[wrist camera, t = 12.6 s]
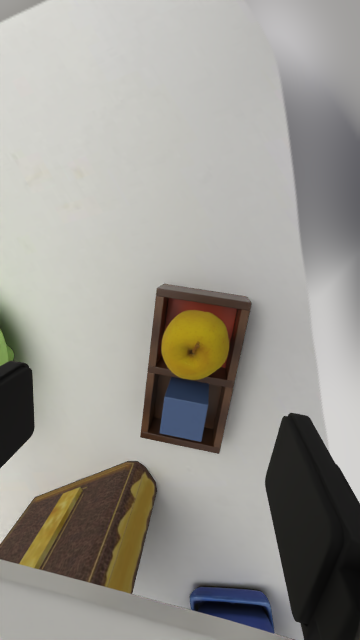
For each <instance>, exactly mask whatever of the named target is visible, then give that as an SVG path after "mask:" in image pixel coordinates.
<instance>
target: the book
mask: <svg viewBox="0 0 360 640" xmlns="http://www.w3.org/2000/svg"><path fill="white" fill-rule="evenodd" d="M156 492H157V488H156V482H155V481H154V479H153V478H152V476H151V475H150V473H149V472H148V470H147V469H146V467H144V466H143V465H142V464H140V463H139V462H138V461H127V462H125V463H122V464H120V465H117V466H115V467H112V468H109V469H107V470H104V471H102V472H99V473H97V474H94V475H91V476H89V477H86V478H84V479H81V480H79V481H76V482H73V483H71V484H68V485H66V486H63V487H61V488H58V489H55V490H53V491H50V492H48V493H45V494H42V495H40V496H37V497H35V498H34V499H33V500H32V502H31V503H30V505H29V506H28V507H27V509H26V510H25V511H24V513H23V514H22V515H21V517H20V518H19V520H18V521H17V522H16V524H15V525H14V526H13V528H12V529H11V530H10V532H9V533H8V535H7V536H6V537H5V539H4V540H3V541H2V543H1V544H0V559H1V560H5V561H9V562H12V563H16V564H20V565H24V566H28V567H31V568H35V569H39V570H43V571H47V572H51V573H54V574H58V575H62V576H66V577H70V578H73V579H77V580H81V581H85V582H88V583H92V584H96V585H100V586H104V587H107V588H111V589H115V590H119V591H122V592H126V593H130V594H132V592H133V588H134V583H135V579H136V575H137V571H138V567H139V563H140V559H141V554H142V550H143V546H144V542H145V538H146V534H147V530H148V526H149V521H150V517H151V513H152V509H153V505H154V501H155V497H156Z"/></svg>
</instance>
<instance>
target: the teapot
mask: <svg viewBox="0 0 360 640" xmlns="http://www.w3.org/2000/svg"><path fill="white" fill-rule="evenodd" d="M13 359H14V353H13V351H12V349H11V348H10V347H9V346H7V345H6V343H5V340H4V337H3V334H2V332H1V330H0V366H1V365H3V364H5V363H7V362H9V361H12V360H13Z"/></svg>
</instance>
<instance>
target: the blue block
mask: <svg viewBox="0 0 360 640" xmlns="http://www.w3.org/2000/svg"><path fill="white" fill-rule="evenodd" d="M208 400H209V384H208V383H202V382H197V381H192V380H186V379H181V378H176V377H171V379H170V382H169V385H168V388H167V391H166V394H165V397H164V403H163V411H162V418H161V426H160V434H165V435H170V436H175V437H180V438H185V439H189V440H194V441H199V442H201V441H202V436H203V431H204V425H205V420H206V415H207V409H208Z"/></svg>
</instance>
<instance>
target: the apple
mask: <svg viewBox="0 0 360 640" xmlns="http://www.w3.org/2000/svg"><path fill="white" fill-rule="evenodd" d="M161 352H162V356H163V359H164V361H165V363H166V365H167V367H168V368H169V369H170V370H171V371H172V372H173V373H174V374H175V375H176V376H178V377H180V378H183V379H189V380H199V379H203V378H205V377H207V376H209V375H210V374H212V373H213V372H215V371H216V370H217V369H219V368H220V367H221V366H222V365H223V364H224V363H225V361H226V359H227V356H228V352H229V338H228V332H227V328H226V326H225V324H224V323H223V321H222V320H221V319H219V318H218V317H217V316H215V315H214V314H212V313H210V312H204V311H198V310H188V311H184V312H182V313H180V314H178V315H177V316H176V317H175V318H174V319H173V320H172V321H171V322H170V324H169V325H168V327H167V329H166V331H165V333H164V335H163V339H162V347H161Z"/></svg>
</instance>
